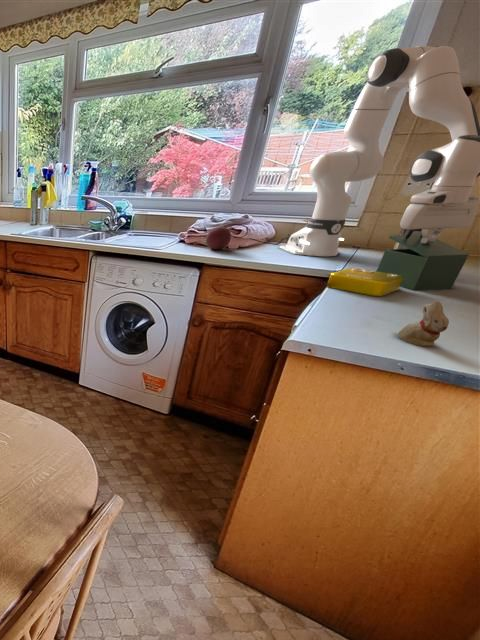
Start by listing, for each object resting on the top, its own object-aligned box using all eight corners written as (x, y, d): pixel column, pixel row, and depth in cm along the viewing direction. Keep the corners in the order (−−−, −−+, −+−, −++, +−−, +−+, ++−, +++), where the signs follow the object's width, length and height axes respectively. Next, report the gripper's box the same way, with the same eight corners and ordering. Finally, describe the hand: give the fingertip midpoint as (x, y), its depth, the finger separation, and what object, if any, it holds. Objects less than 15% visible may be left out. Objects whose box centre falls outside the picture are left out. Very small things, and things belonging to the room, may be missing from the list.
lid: (388, 237, 144) (398, 223, 141) (425, 236, 144) (435, 221, 141) (427, 258, 132) (439, 242, 129) (467, 256, 133) (480, 241, 129)
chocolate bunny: (407, 345, 100) (428, 304, 95) (394, 334, 106) (413, 294, 101) (438, 349, 98) (461, 306, 93) (423, 336, 104) (444, 296, 99)
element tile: (323, 286, 143) (328, 272, 140) (345, 279, 149) (350, 265, 147) (379, 297, 131) (386, 281, 129) (400, 289, 138) (407, 274, 136)
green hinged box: (373, 278, 150) (385, 249, 145) (408, 277, 150) (421, 248, 145) (413, 289, 137) (427, 258, 132) (451, 288, 137) (467, 257, 132)
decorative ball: (206, 251, 196) (212, 228, 191) (201, 247, 205) (206, 225, 200) (230, 251, 194) (236, 228, 189) (224, 247, 202) (229, 225, 198)
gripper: (470, 194, 135) (448, 240, 141) (406, 196, 134) (387, 242, 141) (492, 195, 129) (469, 243, 135) (426, 198, 129) (405, 245, 135)
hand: (427, 243), depth 138 cm, fingers closed, pressing on lid
